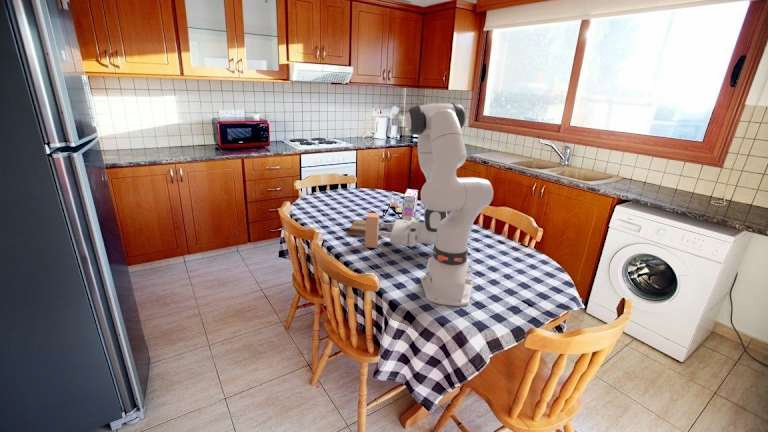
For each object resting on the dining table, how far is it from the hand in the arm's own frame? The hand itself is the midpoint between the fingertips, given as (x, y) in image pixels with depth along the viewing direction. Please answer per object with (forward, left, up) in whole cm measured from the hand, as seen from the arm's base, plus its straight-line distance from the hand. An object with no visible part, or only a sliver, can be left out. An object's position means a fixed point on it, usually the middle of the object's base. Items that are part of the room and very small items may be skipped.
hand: (382, 229), depth 162 cm
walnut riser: (+15, +10, -8) cm, 20 cm away
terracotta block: (0, +4, -8) cm, 9 cm away
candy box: (+32, -10, -8) cm, 34 cm away
